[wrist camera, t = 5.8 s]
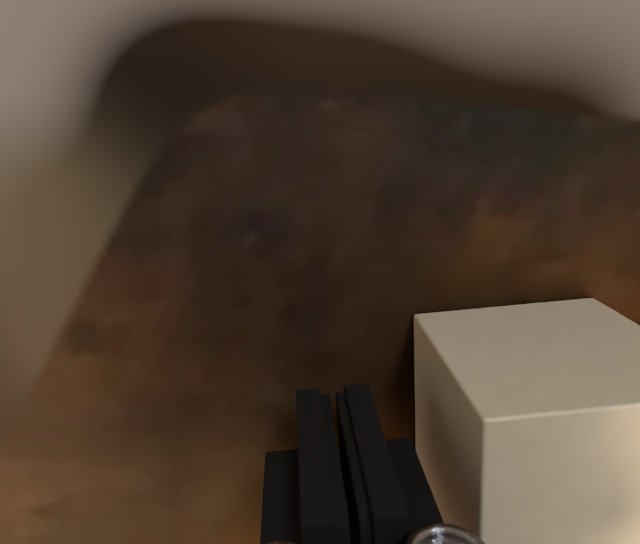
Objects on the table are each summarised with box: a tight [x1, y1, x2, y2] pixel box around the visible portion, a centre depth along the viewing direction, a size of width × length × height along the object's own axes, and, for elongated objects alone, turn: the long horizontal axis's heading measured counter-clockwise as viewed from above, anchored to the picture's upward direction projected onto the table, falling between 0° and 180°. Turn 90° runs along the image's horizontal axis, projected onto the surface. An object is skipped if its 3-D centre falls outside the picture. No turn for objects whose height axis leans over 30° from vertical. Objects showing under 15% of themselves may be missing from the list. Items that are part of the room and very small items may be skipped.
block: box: [414, 298, 640, 544], centre depth 11 cm, size 4×4×4 cm
